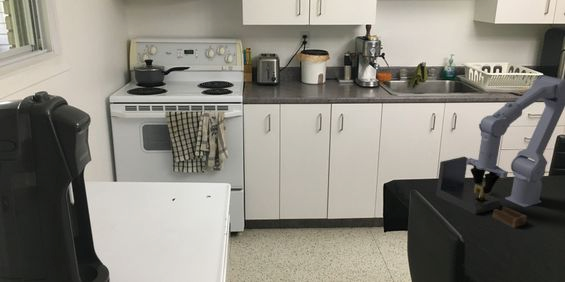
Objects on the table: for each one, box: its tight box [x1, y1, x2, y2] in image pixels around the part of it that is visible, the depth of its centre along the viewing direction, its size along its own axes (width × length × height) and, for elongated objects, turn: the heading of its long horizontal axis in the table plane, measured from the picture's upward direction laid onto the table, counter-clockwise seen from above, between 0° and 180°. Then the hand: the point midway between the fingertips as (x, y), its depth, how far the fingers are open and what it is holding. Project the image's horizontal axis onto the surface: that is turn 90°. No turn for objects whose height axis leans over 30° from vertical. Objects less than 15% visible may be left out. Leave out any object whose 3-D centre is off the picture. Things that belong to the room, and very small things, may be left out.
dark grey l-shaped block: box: [435, 156, 501, 215], centre depth 167 cm, size 12×17×13 cm
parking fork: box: [491, 206, 527, 229], centre depth 155 cm, size 5×8×3 cm
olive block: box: [473, 181, 492, 202], centre depth 163 cm, size 4×3×6 cm
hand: (482, 190), depth 163 cm, fingers closed on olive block, 3 cm apart
